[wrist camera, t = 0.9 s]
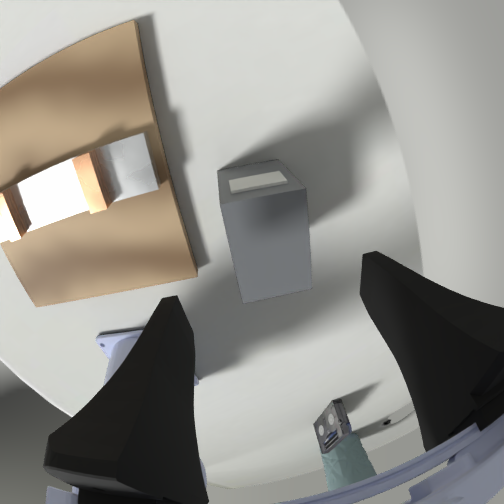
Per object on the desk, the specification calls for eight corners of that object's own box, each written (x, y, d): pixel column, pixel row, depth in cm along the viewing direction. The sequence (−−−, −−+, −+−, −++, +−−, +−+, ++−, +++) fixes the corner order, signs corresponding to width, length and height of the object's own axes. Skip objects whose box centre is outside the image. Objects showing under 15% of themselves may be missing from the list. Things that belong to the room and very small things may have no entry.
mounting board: (197, 269, 21) (197, 276, 21) (40, 300, 21) (36, 307, 20) (137, 23, 12) (133, 20, 11) (-33, 119, 11) (-40, 122, 10)
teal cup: (310, 453, 50) (322, 498, 40) (326, 436, 45) (341, 488, 35) (350, 444, 52) (364, 486, 42) (369, 426, 47) (387, 473, 37)
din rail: (161, 184, 17) (155, 195, 15) (1, 238, 16) (-11, 251, 15) (147, 130, 15) (139, 135, 13) (-15, 200, 14) (-29, 211, 13)
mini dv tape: (321, 422, 40) (330, 452, 35) (313, 424, 40) (322, 454, 35) (341, 398, 36) (353, 432, 31) (332, 400, 36) (344, 434, 31)
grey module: (287, 238, 21) (312, 288, 16) (234, 249, 21) (242, 303, 16) (277, 157, 18) (305, 185, 13) (216, 168, 18) (219, 201, 13)
